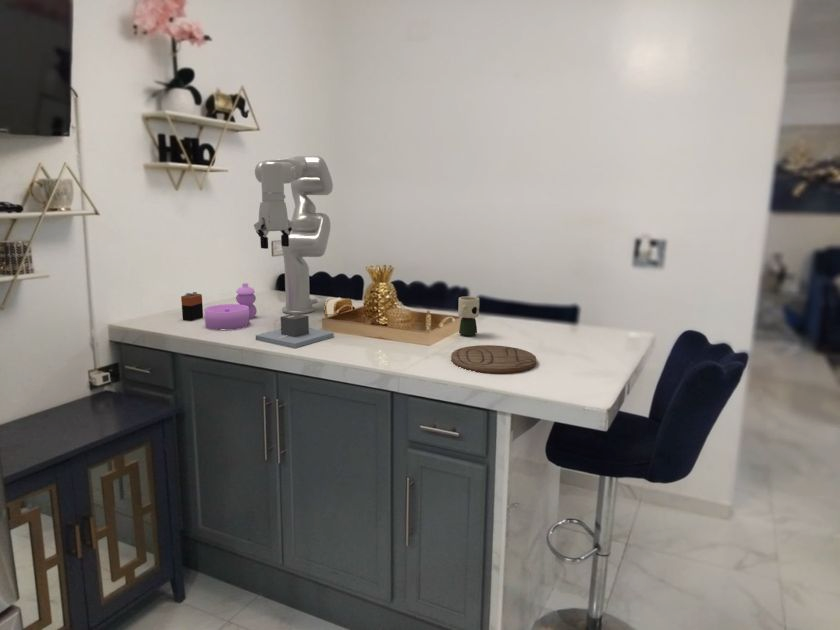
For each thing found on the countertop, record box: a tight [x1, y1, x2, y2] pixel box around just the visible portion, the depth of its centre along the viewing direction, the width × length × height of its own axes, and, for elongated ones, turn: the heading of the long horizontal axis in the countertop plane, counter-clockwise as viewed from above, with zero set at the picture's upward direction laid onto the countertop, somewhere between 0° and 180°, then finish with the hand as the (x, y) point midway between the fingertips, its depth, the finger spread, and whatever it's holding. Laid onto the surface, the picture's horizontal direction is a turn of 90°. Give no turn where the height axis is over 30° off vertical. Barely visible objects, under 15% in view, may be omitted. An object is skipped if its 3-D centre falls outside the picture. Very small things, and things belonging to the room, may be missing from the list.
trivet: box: [450, 344, 538, 375], centre depth 179 cm, size 25×25×2 cm
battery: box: [180, 291, 204, 322], centre depth 228 cm, size 4×7×10 cm, turn 159°
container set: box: [203, 282, 258, 330], centre depth 223 cm, size 25×15×13 cm, turn 166°
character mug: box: [457, 295, 480, 337], centre depth 209 cm, size 11×7×13 cm, turn 153°
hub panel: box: [255, 327, 335, 349], centre depth 202 cm, size 18×18×6 cm
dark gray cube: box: [280, 314, 310, 337], centre depth 201 cm, size 6×6×6 cm
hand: (275, 247), depth 215 cm, fingers open, 9 cm apart
